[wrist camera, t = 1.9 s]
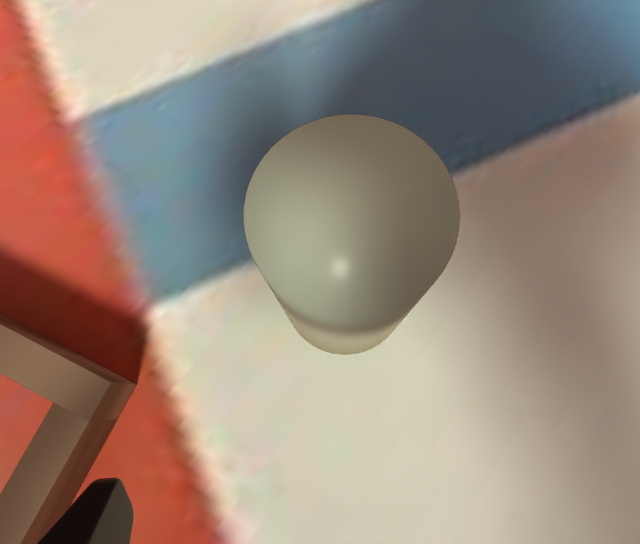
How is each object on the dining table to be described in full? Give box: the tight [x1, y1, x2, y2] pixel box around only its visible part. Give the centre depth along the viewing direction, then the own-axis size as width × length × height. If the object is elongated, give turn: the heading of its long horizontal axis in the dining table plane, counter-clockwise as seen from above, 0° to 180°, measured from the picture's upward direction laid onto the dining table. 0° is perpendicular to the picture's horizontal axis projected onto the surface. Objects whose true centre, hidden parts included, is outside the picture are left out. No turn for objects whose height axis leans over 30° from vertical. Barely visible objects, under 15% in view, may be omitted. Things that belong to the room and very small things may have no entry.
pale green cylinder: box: [244, 114, 460, 355], centre depth 17 cm, size 5×5×10 cm
